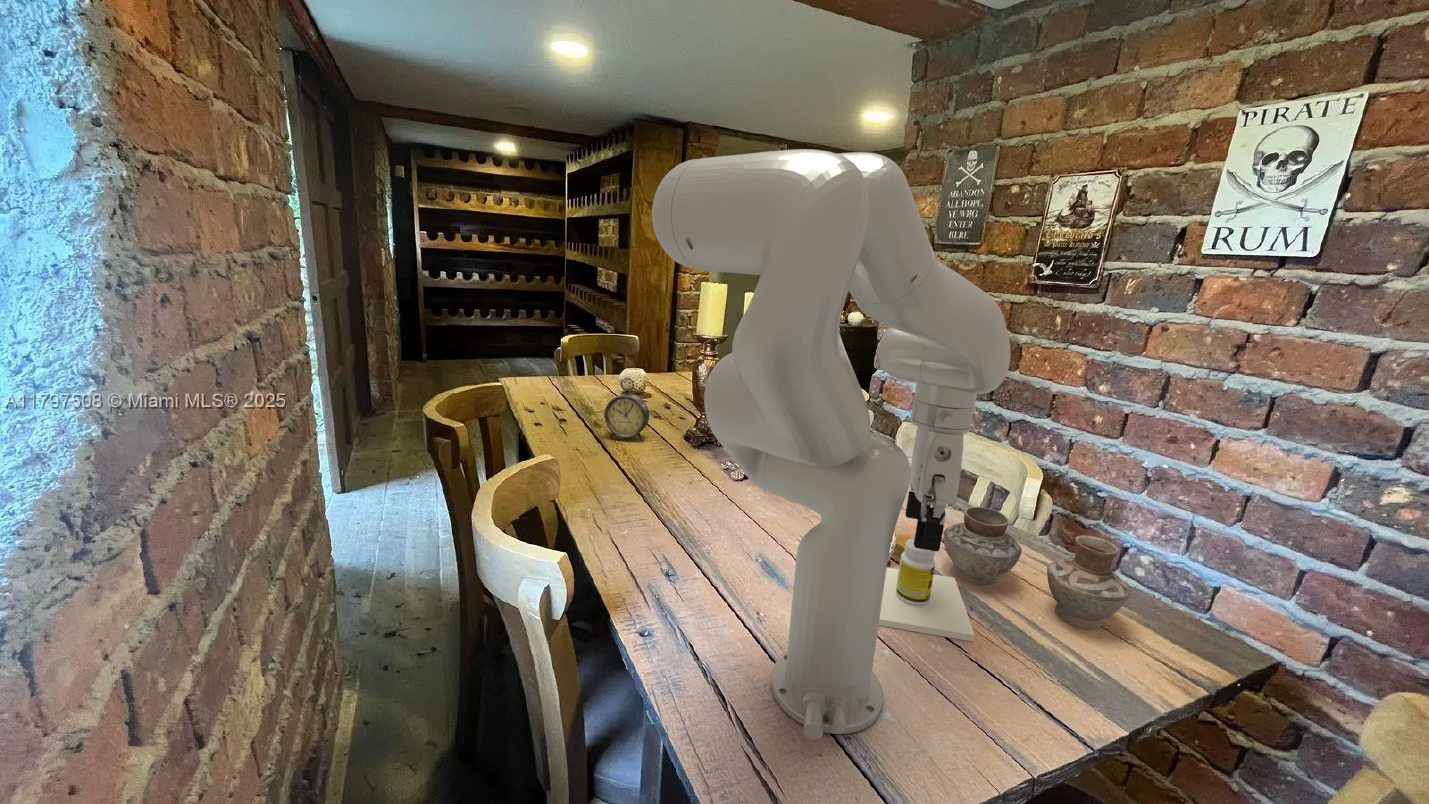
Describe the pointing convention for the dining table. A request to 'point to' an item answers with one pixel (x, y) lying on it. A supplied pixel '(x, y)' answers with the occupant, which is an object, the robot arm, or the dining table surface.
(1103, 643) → the dining table surface
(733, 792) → the dining table surface
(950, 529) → the pottery
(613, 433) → the alarm clock
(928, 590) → the supplement bottle
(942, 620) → the cream board
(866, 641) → the robot arm
